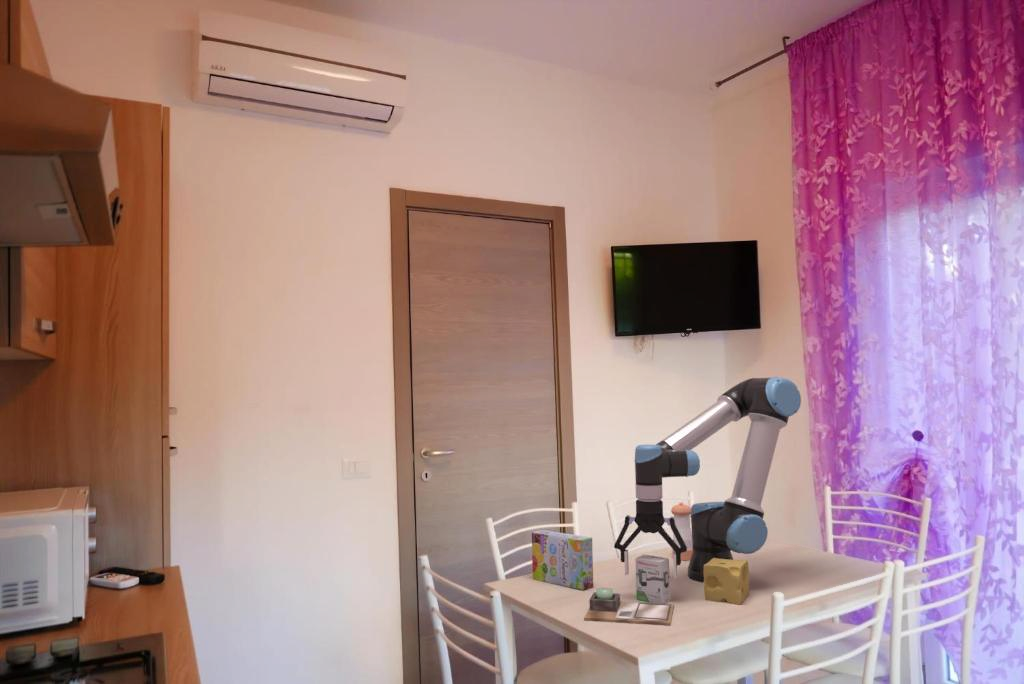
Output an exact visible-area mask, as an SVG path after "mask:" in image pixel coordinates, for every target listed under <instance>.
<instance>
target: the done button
mask: <svg viewBox="0 0 1024 684" xmlns="http://www.w3.org/2000/svg"><path fill="white" fill-rule="evenodd" d="M613 591H614V589H612V588H610V587H599V588H597V589H596V592H597V599H604V600H613V593H614V592H613Z"/></svg>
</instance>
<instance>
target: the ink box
mask: <svg viewBox="0 0 1024 684" xmlns="http://www.w3.org/2000/svg"><path fill="white" fill-rule="evenodd" d="M670 577H671V576H670V559H669V558H667V557H662V556H655V555H650V554H642V555H640V556H637V557H636V558H635V584H636V585H635V589H636V591H635V593H636V600H639V601H643V602H646V603H660V604H667V603H668V602H670V601H671V584H670V583H671V581H670Z"/></svg>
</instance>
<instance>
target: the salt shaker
mask: <svg viewBox="0 0 1024 684" xmlns="http://www.w3.org/2000/svg"><path fill="white" fill-rule="evenodd" d="M670 513H672V515H673V517H674V520H675V525H676V527H677V529H678V531H679V533H680V535H681V537H682V539H683V541H684V543H685V545H686V547H687V551H686V552H682V553H681V560H689V561H690V559H691V555H692V551H693V547H692V527H691V517H690V516H691V507H690V506H689V505H687V504H684V503H683V502H679V503H678V504H675V505H673V506H672V507H671V511H670ZM672 533H673V532H672ZM672 540H673V541H674V542H675V543H676V544H677V546H678V547H679V548H680V545H679V543H678V541H677V539H676V537H675V535H674V533H673V535H672ZM674 552H675V551H674V550H673V549H672V554H673V553H674Z"/></svg>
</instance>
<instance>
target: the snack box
mask: <svg viewBox="0 0 1024 684" xmlns="http://www.w3.org/2000/svg"><path fill="white" fill-rule="evenodd" d="M531 552H532V553H531V554H532V555H531V556H532V557H531V558H532V559H531V560H532V565H531V566H532V580H535V579H536V581H540V580H541V581H540V582H544V581H546V583H549V582H550V584H553V583H554V584H555V585H559V586H564V587H567V588H572V589H577V590H581V591H584V590H589V589H591V588H594V564H593V563H594V562H593V561H594V560H593V556H594V554H593V537H591V536H584V535H580V534H579V535H578V534H571V533H565V532H557V531H552V530H547V529H546V530H545V529H541V530H535V531H532V532H531Z"/></svg>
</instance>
